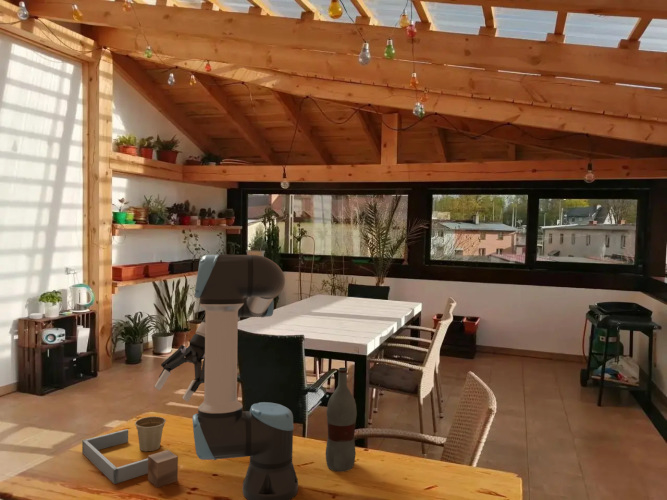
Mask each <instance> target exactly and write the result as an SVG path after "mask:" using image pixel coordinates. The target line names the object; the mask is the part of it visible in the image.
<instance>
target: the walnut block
mask: <svg viewBox="0 0 667 500" xmlns="http://www.w3.org/2000/svg"><path fill="white" fill-rule="evenodd" d="M147 458H148V473H147V481H148V482H150V483H151V484H152V485H153V486H154V487H156V488H161V487H164V486H167V485H170V484H173V483H175V482H178V475H179V474H178V473H179V470H178V469H179V468H178V467H179V466H178V465H179V456H178V455H176V454H175V453H173V452H172V451H171V450H169V449H166V450H163V451H158V452H156V453H152V454H149V455H147Z"/></svg>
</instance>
